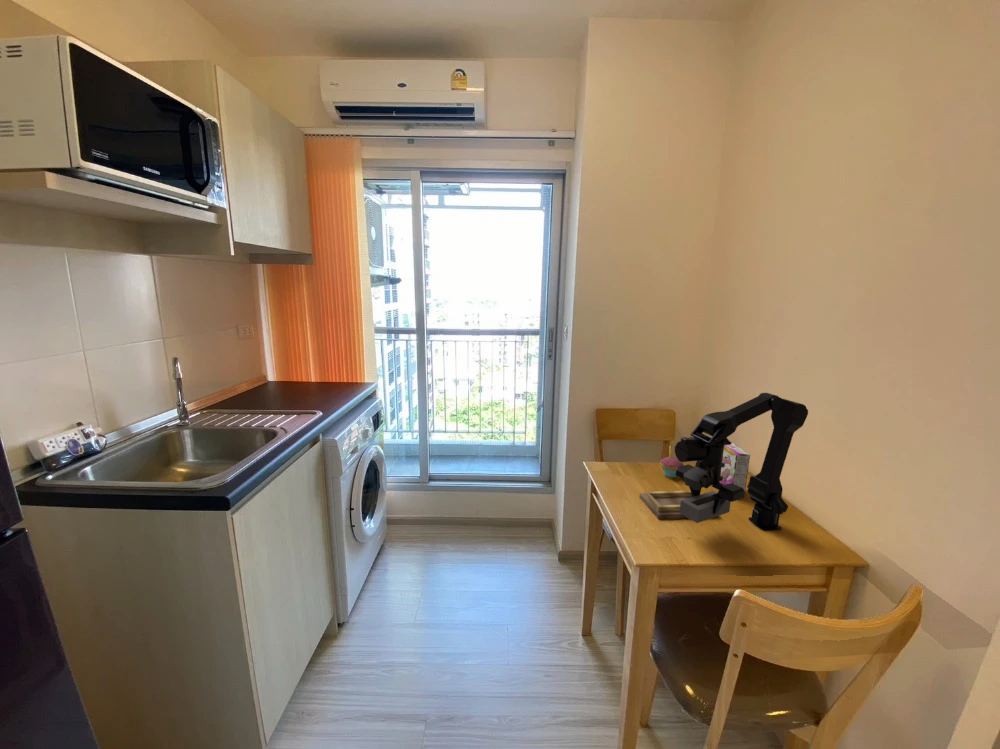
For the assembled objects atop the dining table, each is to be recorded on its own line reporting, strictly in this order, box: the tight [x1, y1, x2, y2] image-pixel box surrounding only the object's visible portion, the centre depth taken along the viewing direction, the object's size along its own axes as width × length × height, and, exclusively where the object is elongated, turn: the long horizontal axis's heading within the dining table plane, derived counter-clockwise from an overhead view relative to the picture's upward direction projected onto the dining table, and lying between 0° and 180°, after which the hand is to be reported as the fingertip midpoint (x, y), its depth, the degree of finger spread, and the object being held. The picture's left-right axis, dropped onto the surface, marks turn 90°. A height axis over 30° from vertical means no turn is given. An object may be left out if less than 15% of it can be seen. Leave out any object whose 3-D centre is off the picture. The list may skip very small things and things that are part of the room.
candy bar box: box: [719, 442, 751, 491], centre depth 148 cm, size 11×5×16 cm, turn 179°
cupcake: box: [659, 445, 685, 478], centre depth 161 cm, size 9×8×12 cm
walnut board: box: [639, 490, 719, 520], centre depth 137 cm, size 20×14×3 cm
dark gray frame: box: [680, 490, 732, 524], centre depth 121 cm, size 14×6×4 cm, turn 117°
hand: (705, 508), depth 121 cm, fingers closed on dark gray frame, 6 cm apart
